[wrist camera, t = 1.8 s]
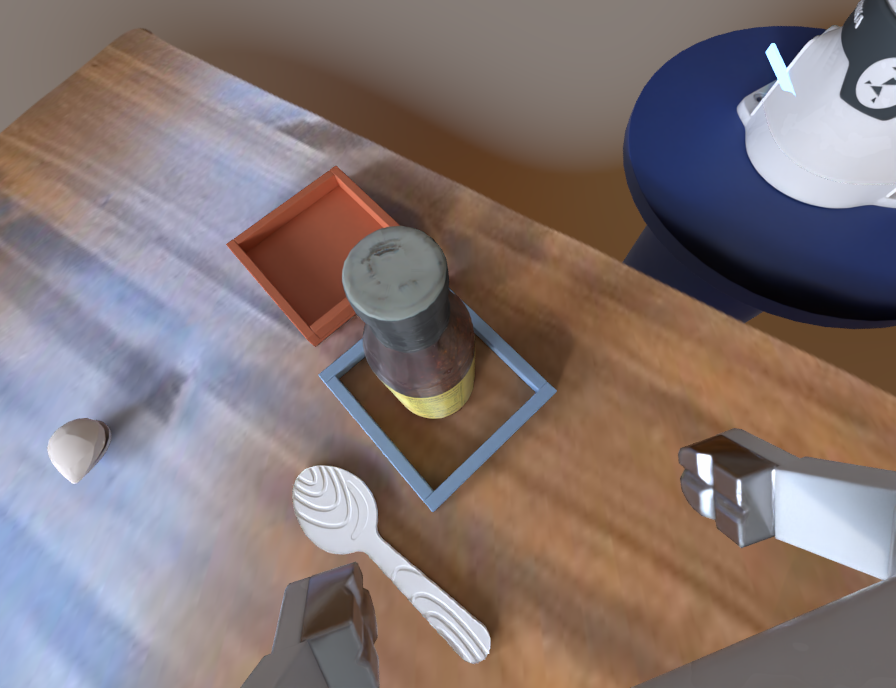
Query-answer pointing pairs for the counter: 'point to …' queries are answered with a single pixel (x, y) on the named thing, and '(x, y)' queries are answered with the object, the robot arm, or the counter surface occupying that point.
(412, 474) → the blue frame
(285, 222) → the terracotta tray
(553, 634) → the counter surface
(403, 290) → the sauce bottle
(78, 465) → the clam shell
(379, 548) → the spoon
